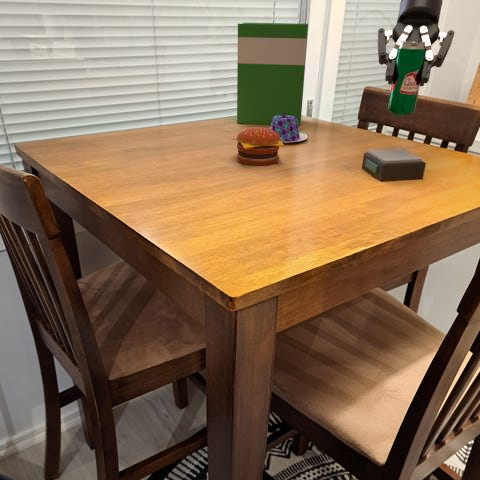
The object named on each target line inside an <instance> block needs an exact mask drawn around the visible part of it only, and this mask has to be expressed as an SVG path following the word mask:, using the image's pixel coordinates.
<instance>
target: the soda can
mask: <svg viewBox="0 0 480 480" xmlns="http://www.w3.org/2000/svg"><path fill="white" fill-rule="evenodd" d="M425 44H426V42H423V41H401V44H400V46H399V47H398V49H397V55H396V62H395V68H394V74H393V80H392V84H391V85H390V86H391V87H390V92H389V99H388V104H387V111H388V112H389V113H390V114H392V115H396V116H410V115H412V114H414V113H415V111H416V107H417V102H418V96H419V93H420V87H421V86H420V81H421V76H422V71H423V66H424V61H425V56H426V51H427V48H426V46H425Z"/></svg>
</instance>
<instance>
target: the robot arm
mask: <svg viewBox="0 0 480 480" xmlns="http://www.w3.org/2000/svg"><path fill="white" fill-rule="evenodd" d="M442 7H443V0H400V4H399V9H398V15H397V19H396V23H395V25H394V27H393V28H392V29H391V30H386V29H385V28H384V27H381V28H378V30H377V39H376V40H377V42H376V43H377V54H378V64H379V65H381V66H383V65H386V69H385V76H384V81H385V82H387V85H392V80H393V74H394V68H395V62H396V55H397V49H398V47H399V46H400V44H401V41H423V42H426V44H425V46H426V48H427V51H426V56H425V61H424V66H423V71H422V76H421V81H420V87H424V86H425V84H428V83H429V81H430V76H431V71H432V68H434V67H436V68H440V67H441V68H442V66H443V65H444V64H443V63H444V62H445V60H446V58H447V55H448V53H449V50H450V49H451V47H452V44H453V41H454V37H455V31H454V30H453V29H452V30H451V29H450V30H447V32H444V31H440V30H441V29H440V27H439V22H440V17H441V11H442ZM390 39H392V41H393V42H394V46H393V48H392V50H391V52H390V53H388V52H387V44H389V42H390ZM436 41H439V43H438V45H439V47H440V48H439V50H438V52H437V54H435V55H433V50H432V46H433V44H435V43H436Z"/></svg>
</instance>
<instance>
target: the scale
mask: <svg viewBox="0 0 480 480" xmlns="http://www.w3.org/2000/svg"><path fill="white" fill-rule="evenodd" d="M362 157H363V158H362V164H361V169H362V170H363V171H364V172H366V173H368V174H370V175H371V176H372V177H374V178H375V179H376V180H378V181H380V182H393V181H394V182H395V181H410V180H411V181H412V180H423V179H424V174H425V169H426V165H427V162H425V161H424V160H423V158H422V157H420V156H418V155H416V154H414V153H413V152H410V151H408V150H406V149H405V148H389V149H370V150H368V151H367V152H363V156H362Z"/></svg>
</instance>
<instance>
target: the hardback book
mask: <svg viewBox="0 0 480 480" xmlns="http://www.w3.org/2000/svg"><path fill="white" fill-rule="evenodd" d="M308 30H309V23H294V22H293V23H291V22H290V23H289V22H247V21H245V22H237V68H236V70H237V71H236V72H237V73H236V75H237V79H236V80H237V83H236V84H237V85H236V96H237V97H236V124H245V125H246V124H247V125H249V124H250V125H270V126H271V123H272V120H273V118H274V116H278V115H289V116H294V117H296V118H297V121H298V127H301V123H302V115H303V114H302V113H303V99H304V97H303V96H304V86H305V74H306V73H305V72H306V59H307V58H306V57H307V46H308V33H309V31H308Z"/></svg>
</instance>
